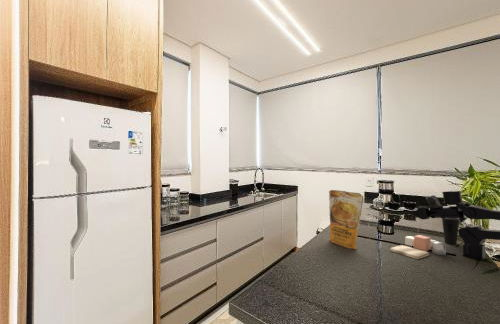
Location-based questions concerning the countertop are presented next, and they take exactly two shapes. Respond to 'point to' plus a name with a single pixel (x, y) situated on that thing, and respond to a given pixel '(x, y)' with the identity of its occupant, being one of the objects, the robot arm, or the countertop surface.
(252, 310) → the countertop surface
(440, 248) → the grey cylinder
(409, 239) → the cream cube
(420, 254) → the birch board
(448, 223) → the drinking cup
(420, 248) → the terracotta block
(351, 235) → the pancake mix bag
